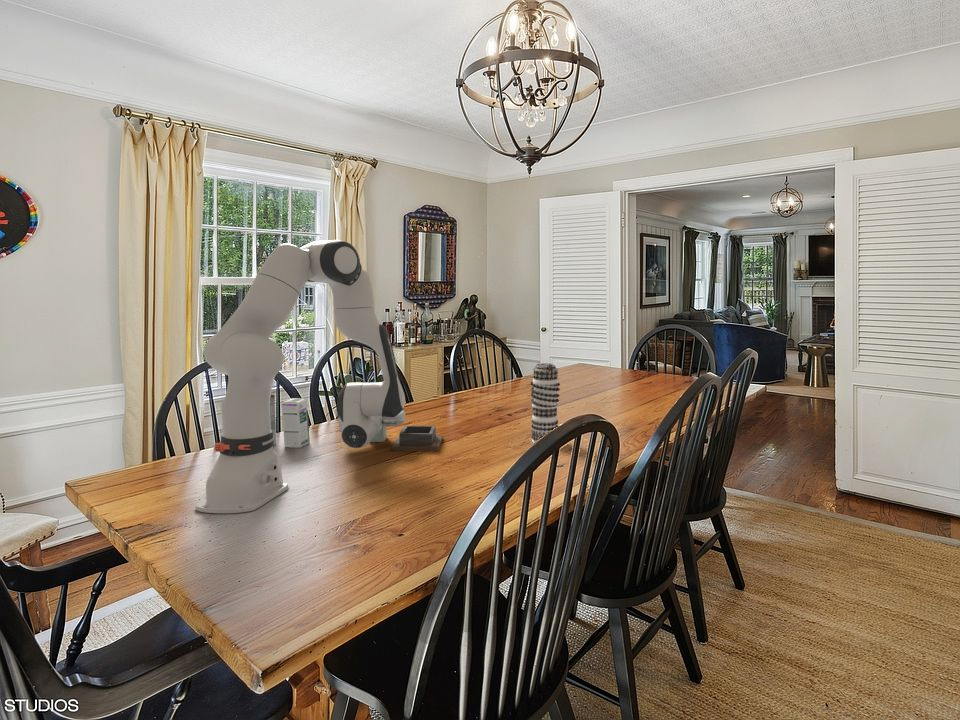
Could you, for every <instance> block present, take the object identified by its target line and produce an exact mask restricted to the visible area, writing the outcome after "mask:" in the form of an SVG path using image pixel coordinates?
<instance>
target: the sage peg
mask: <svg viewBox="0 0 960 720" xmlns="http://www.w3.org/2000/svg"><path fill="white" fill-rule="evenodd" d="M387 432H388V431H387V426H382V428H381V429H380V431H379V432H378V433H377V434H376V436H375V437H374V438H373V439H372V441H371V442H370V443H375V442H378V443H384V442H385V441H386V439H387V435H388V434H387Z"/></svg>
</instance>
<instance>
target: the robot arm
mask: <svg viewBox="0 0 960 720" xmlns="http://www.w3.org/2000/svg"><path fill="white" fill-rule="evenodd" d="M307 282H310V283H315V282H316V283H323V284H327V285H328V286H329V287H330V290H331V292H332V295H333V298H332V299H333V300H332V302H333V303H332V304H333V316H334V324H335V327H336V329H337V330H338V331H339V332H340V333H341V334H342V335H343V336H345V337H346V338H348V339H350V340H351V341H355V342H358V343H360V344H364V345H366V346H368V347H370V348H371V349H372V350H373V351H374V352H375V353H376V354H377V357H378V361H379V365H380V369H381V374H382V377H383V380H382V381H381V382H379V381H378V382H377V381H376V382H375V381H374V382H365V381H363V382H361V381H360V382H347V383H346V384H344V386H342V388H341V390H340V391H339V393H338V395H337V399H336V400H337V401H336V408H337V415H338V427H339V432H340V434H341V435H340V436H341V440H342V441H343V443H344V444H345V445H346V446H348V447H349V448H352V449H360V448H364V447H365V446H367V445H369V444H370V443H372V442H371V441H372V439H373V438H374V437H375V436H376V434H377V433H378V432H379V431H380V429H381V428H382V426H386V427H399V426H401V425H402V424H404V423H405V422H406V411H405V410H404V409H405V404H406V396H405V392H404V389H403V386H402V383H401V378H400V375H399V369H398V365H397V362H396V357H395V352H394V350H393V348H394V347H393V345H392V341H391V338H390V334H389V330H388V329H387V327H386V326H385V325H383V324H382V323H380V321H379V319H378V318H377V315H376V313H375V302H374V293H373V288H372V283H371V279H370V276H369V274H368V272H367V271H366V270H364V269H363V267H362V264H361V258H360V255H359V253H358V251H357V250H356V247H354V245H353V244H351V243H349V242H347V241H345V240H342V239H341V240H340V239H332V240H325V239H322V240H321V239H320V240H316V241H312V242H306V243H303V244H301V245H299V246H297V245H294V244H291V243H281V244H279V245H277V246H276V247H275V248H274V249H273V250H272V251H271V253H270V254H269V256H268V257H267V258H266V259H265V261H264V262H263V264H262V265H261V267H260V268H259V271H258V272H257V274H256V275H255V277H254V280H253V282H252V283H251V285H250V287H249V288H248V291H247V293H246V294H245V296H244V298H243V300H242V301H241V303H240V304H239V306H238V307H237V309H236V310H235V311H234V312H233V313H232V315H230V317H229V318H228V320H227V321H226V322H225V323H224V324H223V326H222V327H221V328H220V329H219V330H218V331H217V332H216V333H215V334H214V335H212V336H210V337H209V339H208V340H207V341H206V342H205V345H204V349H203V355H204V359H205V361H206V363H207V364H208V366H210V367H211V368H212V369H213V370H215V371H217V372H218V373H219V374H222V375H226V376H227V377H228V382H227V388H226V393H225V396H224V399H222V401H221V404H220V415H221V416H220V417H221V429H222V430H221V433H222V434H221V436H220V441H219V442H215V443H214V446H213V448H214V452H218V453H219V456H218V458H217V460H216V461H215V463H214V465H213V467H212V469H211V471H210V473H209V475H208V477H207V479H206V483H205V493H204V495H203V496H202V497H201V498H200V499H199V500H198V502H197V503H196V504H195V505H194V506H195V508H194V509H195V511H197V512H200V513H206V514H207V513H209V514H239V513H246V512H252V511H255V510H258V508H260V507H262V506H263V505H265V504H267V503H269V502H270V501H271V500H273V499H275V498H277V496H280V495H281V494H282V493H284V492H285V491H287V490H288V489H289V484H288V483H287V482H285V481H284V478H283V473H282V464H281V458H280V455H279V454H278V453H277V452H276V450H275V449H274V447H273V446H275V445H274V436H273V431H272V430H271V420H270V397H271V395H272V390H273V386H274V381H275V377H276V375H277V374H278V373H279V372H280V371H281V369H282V366H283V362H284V353H283V351H282V349H281V347H280V345H279V344H278V343H277V342H275V341H274V340H272V339H271V336H272V335H273V334H274V333H275V332H276V331H277V330H279V328H281V327H283V326H285V324H286V322H287V321H288V319H289V317H290V315H291V313H292V311H293V309H294V306H295V305H296V303H297V301H298V299H299V297H300V294H301V293H302V290H303V288H304V286H305V284H306V283H307Z"/></svg>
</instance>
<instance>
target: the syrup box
mask: <svg viewBox="0 0 960 720" xmlns="http://www.w3.org/2000/svg"><path fill="white" fill-rule="evenodd" d="M281 413H282V414H281V415H282V416H281V417H282V428H283V444H284V447H285V448H291V449H292V448H294V449H302V447H304V446H306V445H308V444H310V442H311V441H310V426H309V425H310V423H309V408H308V399H307V398H300V397H299V398H297V397H295V398H294V397H293V398H292V397H291V398H290V399H287V400H285V401H282V402H281Z"/></svg>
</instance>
